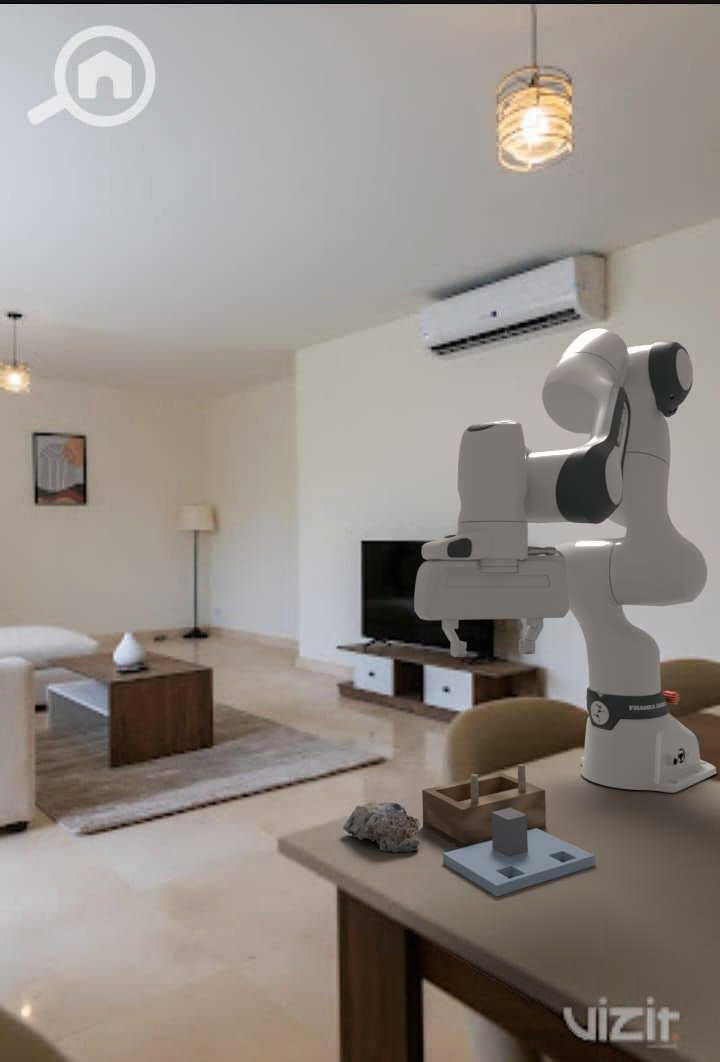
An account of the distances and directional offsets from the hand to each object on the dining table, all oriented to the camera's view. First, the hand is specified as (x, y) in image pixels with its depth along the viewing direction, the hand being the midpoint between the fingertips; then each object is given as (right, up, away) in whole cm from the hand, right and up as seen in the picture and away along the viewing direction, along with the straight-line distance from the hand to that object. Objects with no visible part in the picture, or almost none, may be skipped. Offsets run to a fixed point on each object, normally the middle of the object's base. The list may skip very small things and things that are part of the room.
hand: (493, 655), depth 94 cm
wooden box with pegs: (0, -25, +7) cm, 26 cm away
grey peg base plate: (+2, -24, -5) cm, 25 cm away
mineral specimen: (-14, -25, +3) cm, 29 cm away
